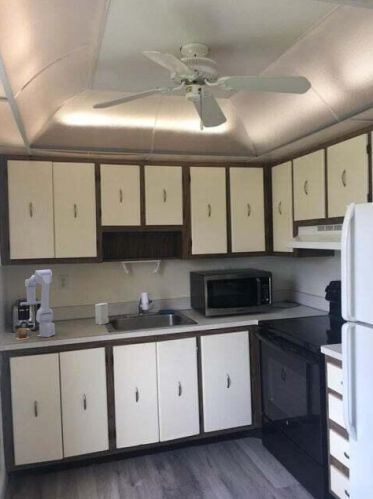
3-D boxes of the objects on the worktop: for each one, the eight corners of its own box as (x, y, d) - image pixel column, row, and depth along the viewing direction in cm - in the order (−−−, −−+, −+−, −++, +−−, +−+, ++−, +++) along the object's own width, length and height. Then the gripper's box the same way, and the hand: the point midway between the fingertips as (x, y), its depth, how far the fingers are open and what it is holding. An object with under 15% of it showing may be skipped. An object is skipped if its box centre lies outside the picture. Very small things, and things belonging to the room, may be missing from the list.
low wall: (31, 334, 274) (31, 330, 273) (31, 335, 273) (31, 330, 272) (15, 336, 270) (15, 331, 270) (15, 336, 270) (15, 332, 269)
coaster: (32, 337, 268) (31, 336, 268) (23, 340, 260) (23, 339, 260) (22, 336, 270) (22, 335, 270) (13, 339, 262) (13, 338, 262)
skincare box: (101, 324, 298) (100, 304, 297) (95, 324, 301) (94, 304, 301) (109, 322, 305) (108, 302, 304) (103, 321, 308) (102, 302, 308)
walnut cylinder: (28, 336, 267) (28, 327, 266) (23, 338, 262) (22, 329, 262) (22, 336, 268) (22, 327, 268) (17, 338, 264) (16, 329, 263)
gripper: (42, 294, 294) (42, 313, 295) (20, 295, 289) (21, 314, 290) (41, 295, 287) (42, 314, 288) (19, 297, 283) (20, 316, 283)
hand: (32, 314), depth 289 cm, fingers open, 7 cm apart
